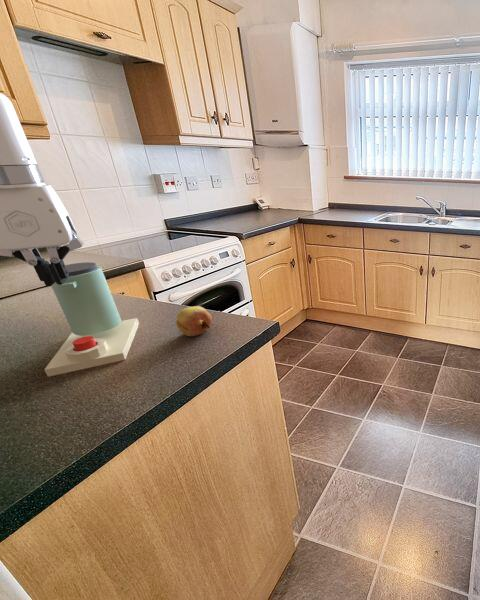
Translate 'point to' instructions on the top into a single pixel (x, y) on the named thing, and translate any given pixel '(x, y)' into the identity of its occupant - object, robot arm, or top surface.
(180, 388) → the top surface
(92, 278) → the kettle
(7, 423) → the top surface
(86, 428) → the top surface
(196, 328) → the fruit
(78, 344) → the switch
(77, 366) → the kettle base
